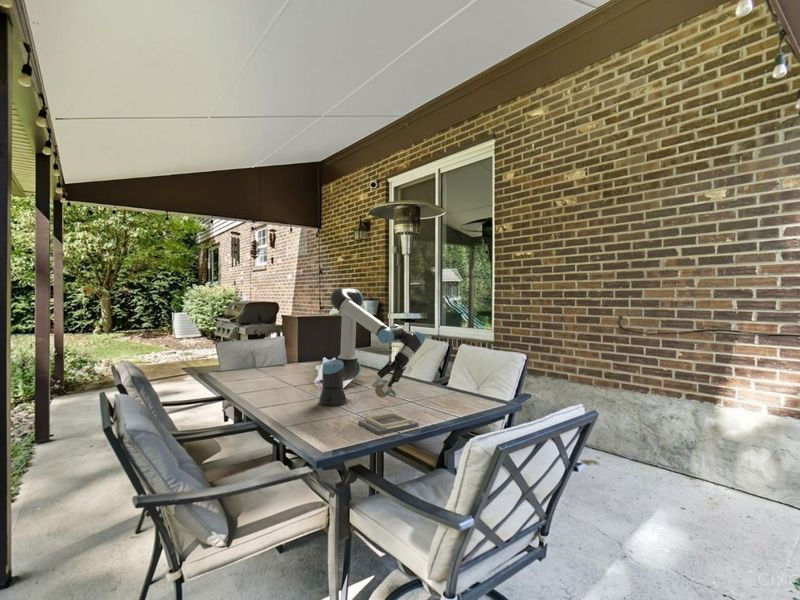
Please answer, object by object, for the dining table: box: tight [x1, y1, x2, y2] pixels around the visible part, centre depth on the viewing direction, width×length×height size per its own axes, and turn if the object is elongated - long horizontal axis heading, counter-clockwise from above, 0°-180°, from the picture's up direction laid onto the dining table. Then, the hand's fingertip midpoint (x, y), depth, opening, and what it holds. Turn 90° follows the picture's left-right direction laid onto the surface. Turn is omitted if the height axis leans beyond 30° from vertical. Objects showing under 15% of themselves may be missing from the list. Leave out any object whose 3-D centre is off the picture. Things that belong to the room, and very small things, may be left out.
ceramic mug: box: [374, 379, 397, 399], centre depth 218 cm, size 11×8×8 cm
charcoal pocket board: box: [358, 412, 420, 435], centre depth 200 cm, size 18×22×3 cm
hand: (378, 389), depth 217 cm, fingers closed on ceramic mug, 10 cm apart
